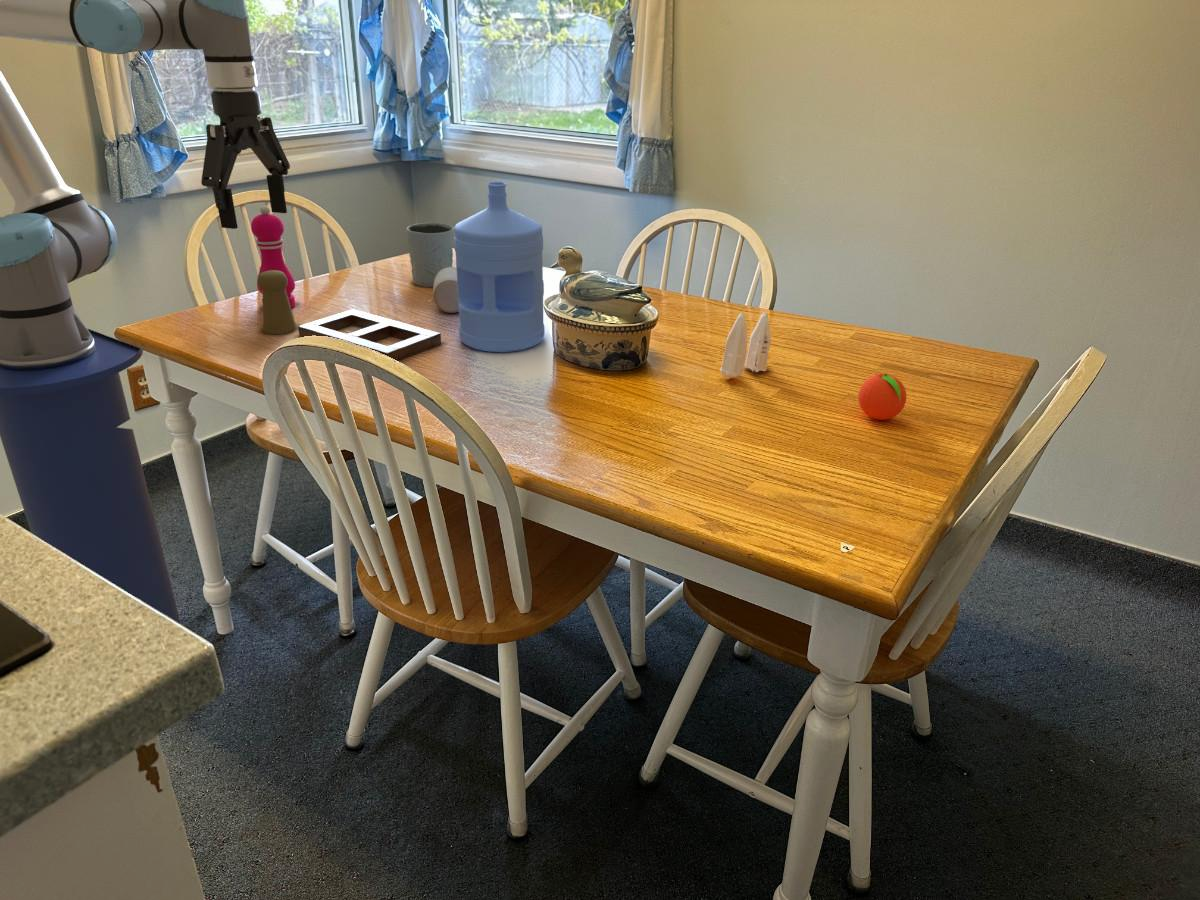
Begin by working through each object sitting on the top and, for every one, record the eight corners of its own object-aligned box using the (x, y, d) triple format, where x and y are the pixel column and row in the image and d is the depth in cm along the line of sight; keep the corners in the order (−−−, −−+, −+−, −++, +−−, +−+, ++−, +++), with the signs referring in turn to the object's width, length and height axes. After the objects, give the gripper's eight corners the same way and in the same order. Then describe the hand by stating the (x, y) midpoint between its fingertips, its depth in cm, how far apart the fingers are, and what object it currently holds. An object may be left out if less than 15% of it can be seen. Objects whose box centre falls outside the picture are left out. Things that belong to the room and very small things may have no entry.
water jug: (475, 322, 171) (468, 173, 158) (553, 329, 168) (552, 178, 156) (447, 349, 157) (436, 189, 145) (531, 357, 155) (528, 194, 142)
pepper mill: (302, 307, 178) (288, 207, 169) (266, 313, 174) (250, 211, 165) (291, 298, 183) (277, 200, 174) (256, 304, 179) (240, 204, 170)
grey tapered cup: (412, 275, 200) (408, 222, 195) (457, 275, 201) (454, 222, 196) (408, 288, 191) (404, 233, 186) (455, 287, 192) (452, 232, 187)
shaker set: (731, 387, 144) (737, 322, 139) (711, 380, 146) (716, 316, 141) (774, 369, 151) (781, 307, 146) (754, 362, 154) (760, 301, 149)
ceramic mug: (433, 315, 174) (431, 277, 171) (435, 302, 182) (433, 266, 178) (486, 315, 176) (486, 277, 172) (486, 302, 183) (485, 266, 180)
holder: (388, 364, 151) (387, 353, 150) (299, 336, 162) (297, 326, 161) (441, 343, 160) (440, 333, 159) (353, 318, 172) (352, 309, 171)
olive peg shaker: (270, 323, 169) (261, 266, 164) (301, 324, 168) (293, 267, 164) (258, 333, 163) (248, 275, 158) (290, 334, 163) (281, 276, 158)
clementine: (915, 427, 131) (924, 383, 127) (874, 432, 129) (882, 388, 126) (885, 406, 138) (893, 364, 134) (846, 411, 136) (853, 368, 133)
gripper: (200, 96, 133) (225, 236, 143) (299, 85, 154) (315, 208, 164) (160, 94, 135) (187, 233, 145) (263, 83, 156) (281, 205, 166)
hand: (255, 220), depth 154 cm, fingers open, 13 cm apart
